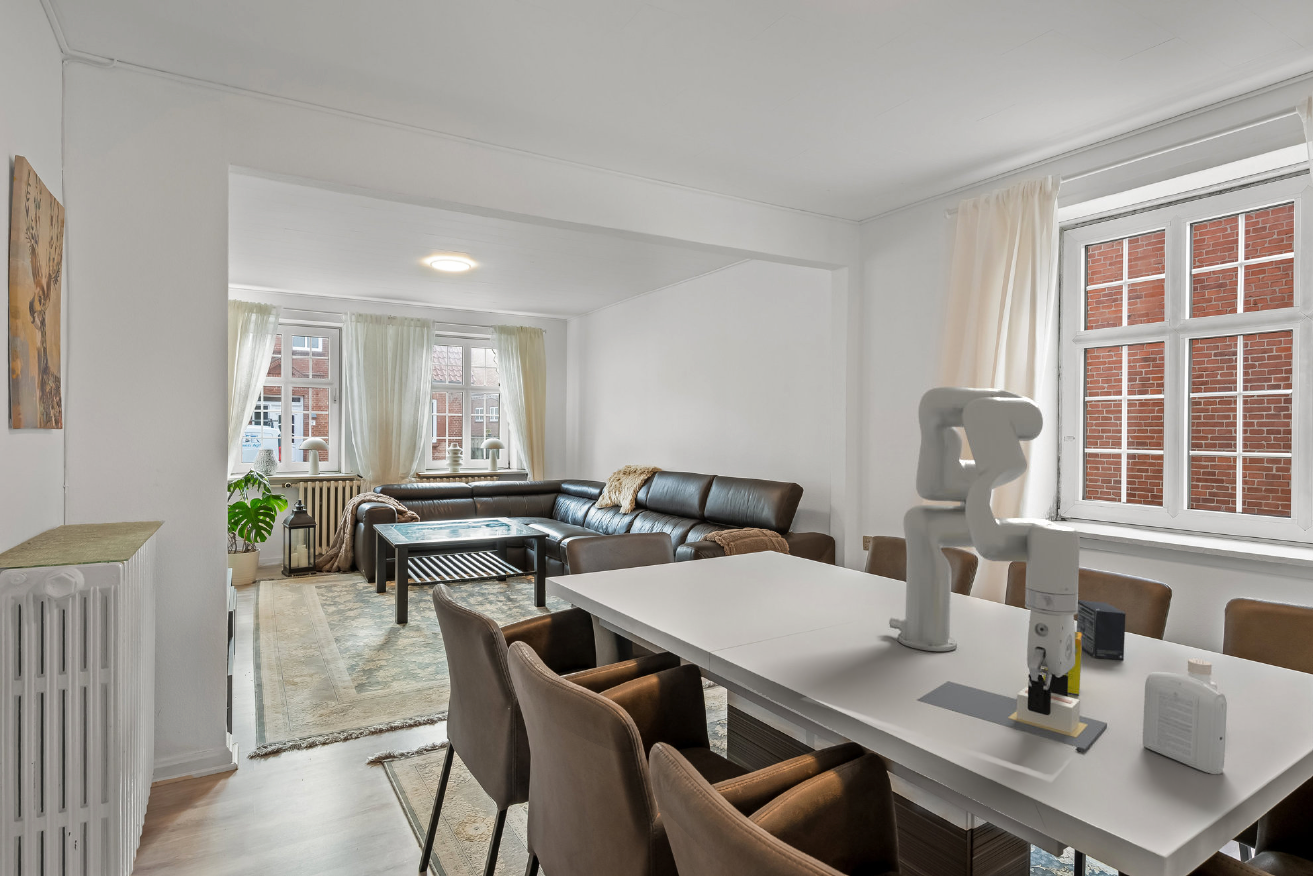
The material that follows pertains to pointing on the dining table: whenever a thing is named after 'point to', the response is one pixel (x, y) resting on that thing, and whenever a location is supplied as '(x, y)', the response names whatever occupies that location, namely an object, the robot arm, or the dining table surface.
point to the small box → (1101, 629)
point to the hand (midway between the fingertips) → (1047, 704)
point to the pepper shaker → (1200, 671)
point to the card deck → (1060, 716)
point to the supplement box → (1075, 668)
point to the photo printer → (1185, 720)
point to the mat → (1009, 714)
